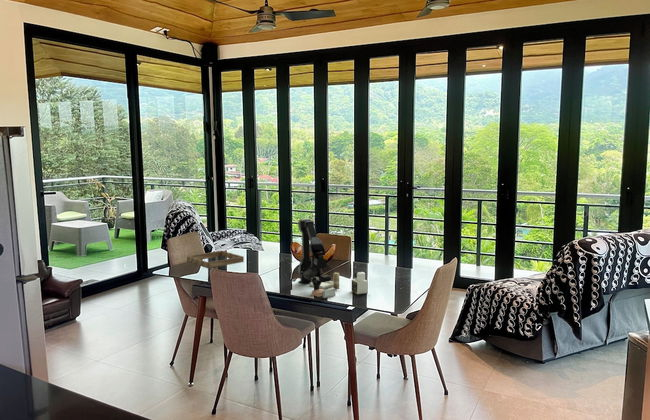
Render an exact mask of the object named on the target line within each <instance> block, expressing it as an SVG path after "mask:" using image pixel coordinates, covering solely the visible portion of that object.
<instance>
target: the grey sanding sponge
mask: <svg viewBox="0 0 650 420" xmlns="http://www.w3.org/2000/svg"><path fill="white" fill-rule="evenodd" d="M334 296H336V289H335V288H334V287H331V288H327V289H324V290H323V296H322V299H327V298H331V297H334Z"/></svg>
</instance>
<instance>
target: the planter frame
mask: <svg viewBox="0 0 650 420" xmlns="http://www.w3.org/2000/svg"><path fill="white" fill-rule="evenodd" d="M217 257H223V258H226V259H221V260H213V261H205V260H209V259H213V258H217ZM186 261H187V263H189V264H190V263H191V264H193V265H197V266H198V267H203V268H206V269H212V268H213V269H214V268H219V267H222V266H224V267H225V266H228V265H234V264H240V263H244V262H245V261H244V256H242V255H239V254H235V253H232V252H228V251H224V250H219V251H218V250H217V251H216V250H215V251H211V252H207V253H206V252H205V253H199V254H191V255H187V256H186ZM218 266H219V267H218Z"/></svg>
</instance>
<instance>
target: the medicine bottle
mask: <svg viewBox="0 0 650 420" xmlns="http://www.w3.org/2000/svg"><path fill="white" fill-rule="evenodd" d="M351 292H353V293H355V295H356V294H357V295H362V294H367V293H368V292H369V281H368V280H367V279H366V273H365V272H364V271H363V270H362V271H361V270H358V271H355V272H354V278H352V279H351Z"/></svg>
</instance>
